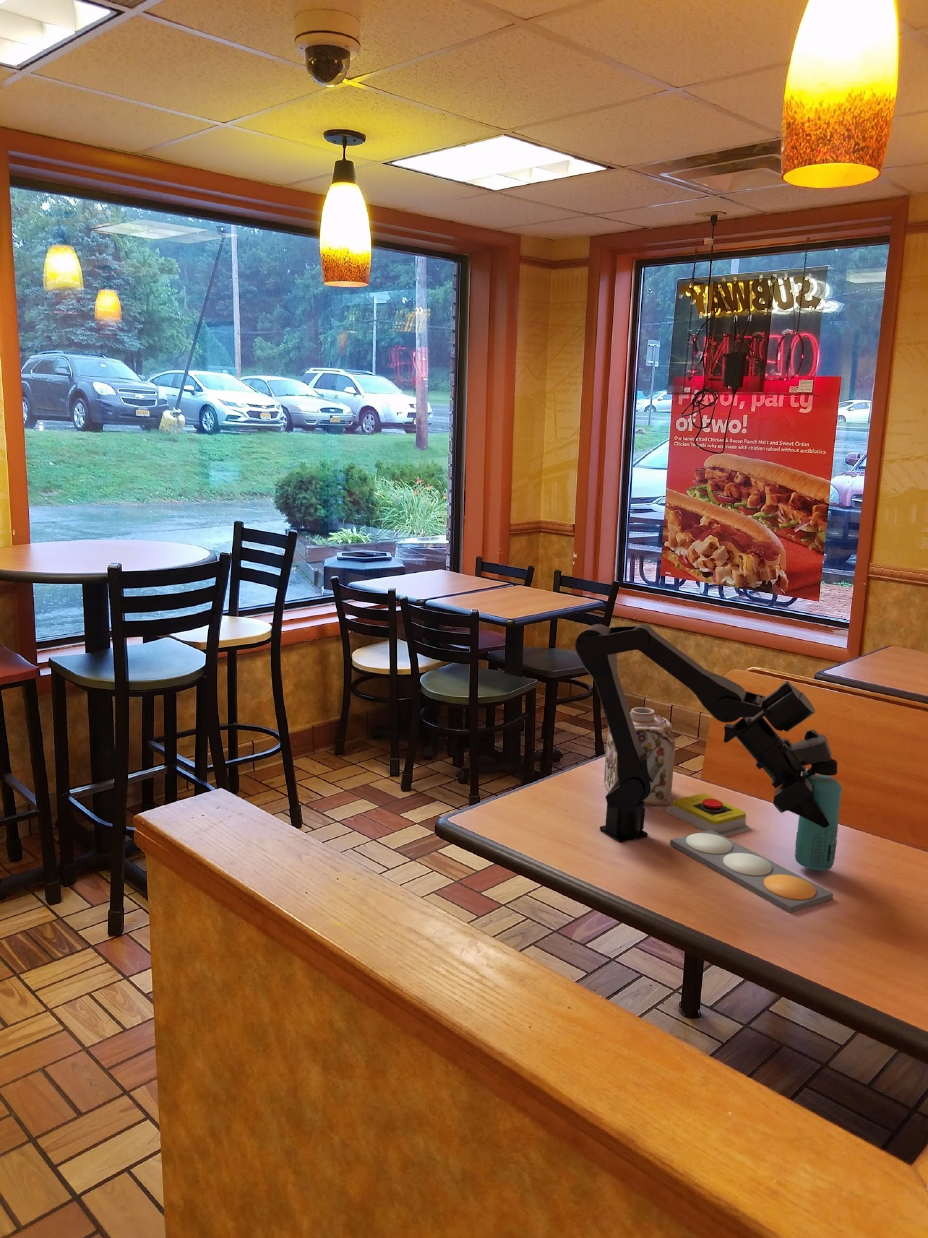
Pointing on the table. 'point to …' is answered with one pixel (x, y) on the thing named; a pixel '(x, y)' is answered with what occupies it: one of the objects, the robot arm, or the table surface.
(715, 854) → the panel
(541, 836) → the table surface
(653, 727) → the decorative jar
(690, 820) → the emergency button
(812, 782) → the beverage bottle
